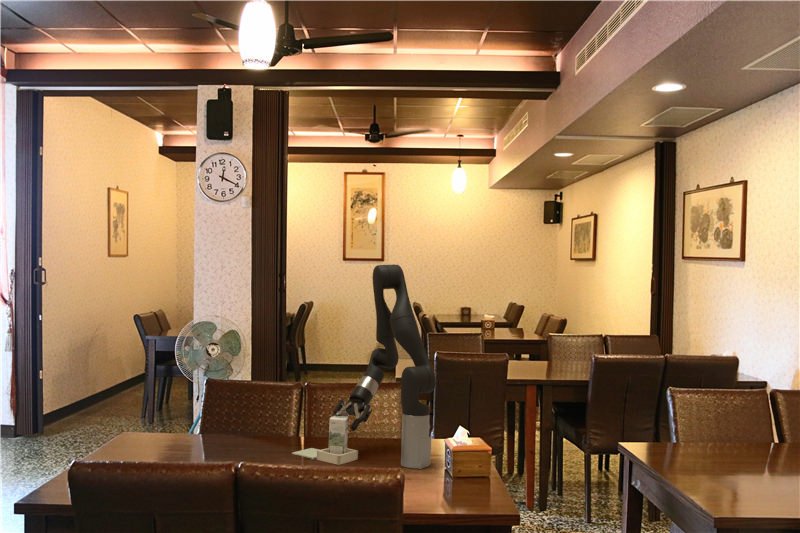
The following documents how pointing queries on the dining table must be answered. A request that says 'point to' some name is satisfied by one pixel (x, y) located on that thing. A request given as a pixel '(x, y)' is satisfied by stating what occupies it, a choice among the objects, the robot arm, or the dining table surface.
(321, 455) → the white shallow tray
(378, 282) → the robot arm
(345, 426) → the syrup box
